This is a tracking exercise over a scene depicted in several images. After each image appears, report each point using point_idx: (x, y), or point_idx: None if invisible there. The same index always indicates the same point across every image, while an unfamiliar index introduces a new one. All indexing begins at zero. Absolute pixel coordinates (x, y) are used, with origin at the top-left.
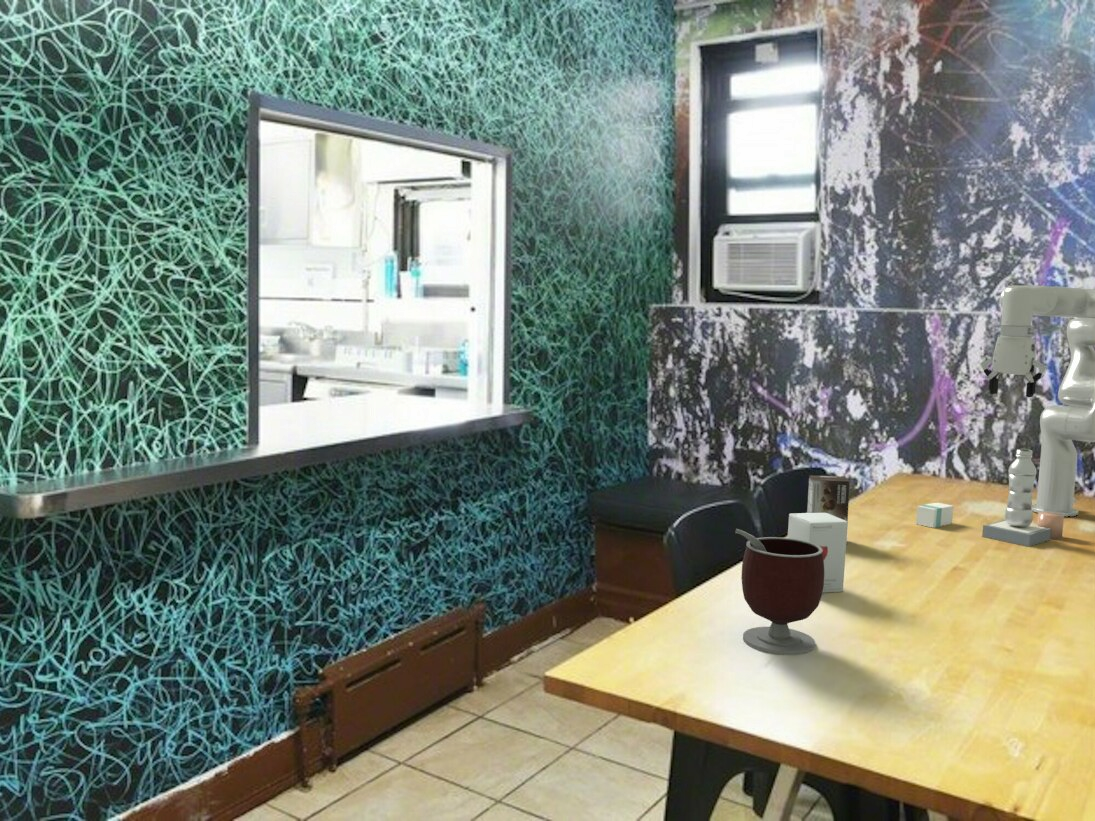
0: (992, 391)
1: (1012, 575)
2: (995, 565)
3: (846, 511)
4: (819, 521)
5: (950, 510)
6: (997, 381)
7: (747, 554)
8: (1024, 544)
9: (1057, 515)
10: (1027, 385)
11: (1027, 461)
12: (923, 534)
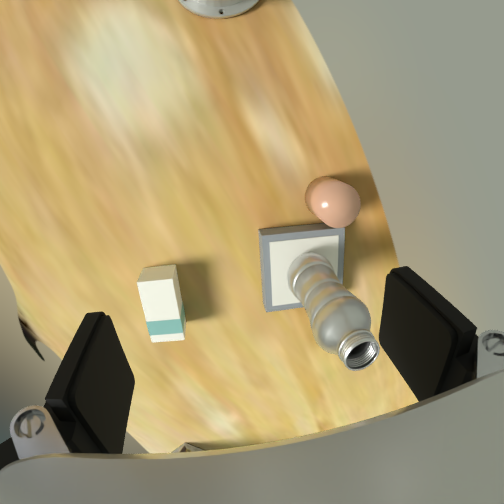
0: (129, 390)
1: (366, 401)
2: (343, 393)
3: None
4: None
5: (174, 284)
6: (85, 396)
7: None
8: None
9: (350, 204)
10: (422, 397)
11: (363, 345)
12: (209, 363)
